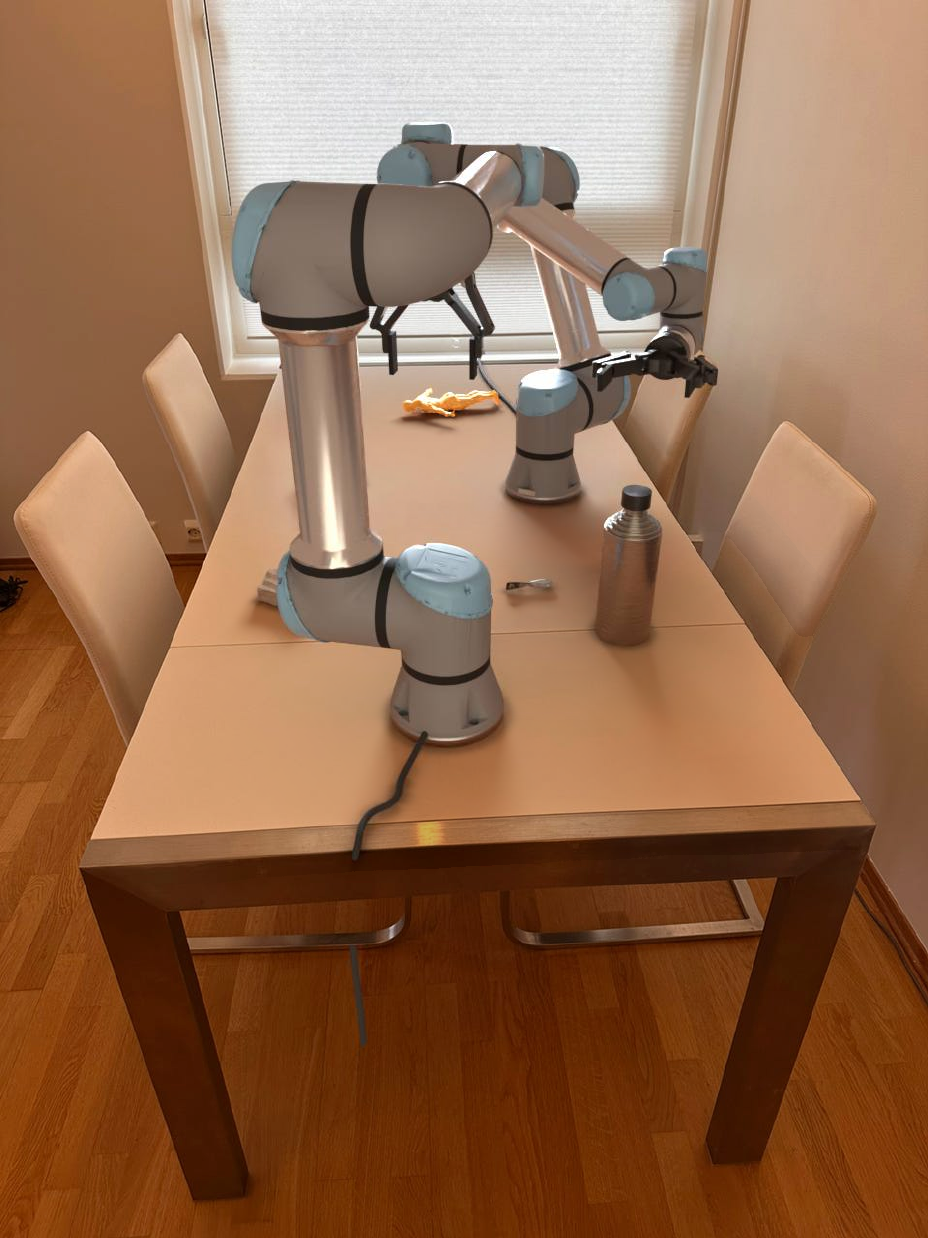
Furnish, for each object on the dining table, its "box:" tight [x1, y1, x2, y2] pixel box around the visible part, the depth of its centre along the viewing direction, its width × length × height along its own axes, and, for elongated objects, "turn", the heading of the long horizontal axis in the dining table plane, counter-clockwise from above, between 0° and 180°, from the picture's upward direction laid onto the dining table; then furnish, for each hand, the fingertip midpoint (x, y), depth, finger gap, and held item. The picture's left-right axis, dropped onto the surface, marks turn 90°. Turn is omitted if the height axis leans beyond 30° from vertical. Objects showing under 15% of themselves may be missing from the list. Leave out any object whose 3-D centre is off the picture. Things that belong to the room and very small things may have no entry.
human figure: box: [402, 385, 500, 418], centre depth 225 cm, size 20×20×4 cm
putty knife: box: [505, 578, 554, 591], centre depth 148 cm, size 1×8×2 cm, turn 103°
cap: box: [620, 484, 653, 511], centre depth 126 cm, size 4×4×2 cm
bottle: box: [594, 508, 663, 647], centre depth 132 cm, size 8×8×23 cm
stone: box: [256, 568, 278, 607], centre depth 147 cm, size 13×12×3 cm
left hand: (433, 375), depth 148 cm, fingers open, 13 cm apart
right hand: (642, 385), depth 138 cm, fingers open, 13 cm apart
